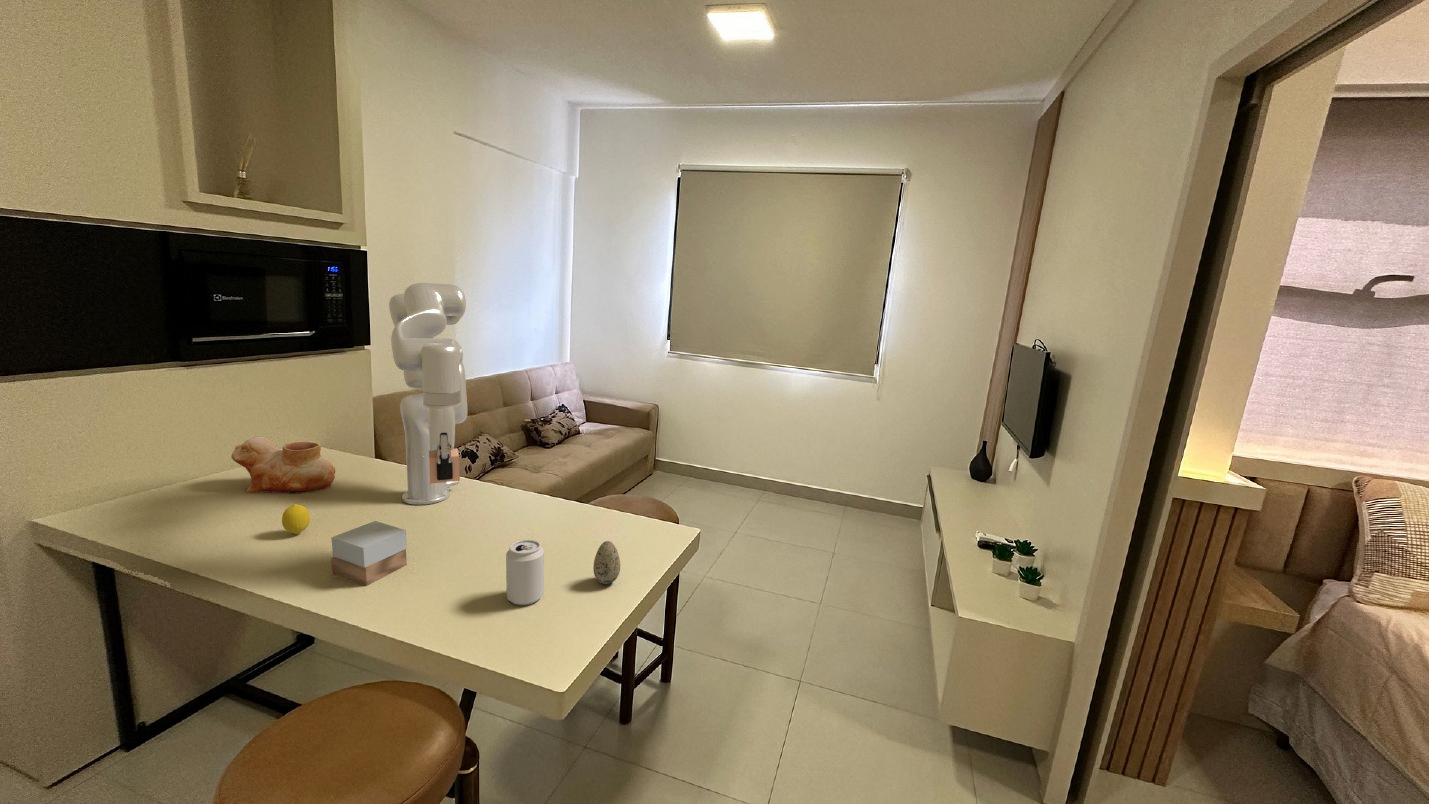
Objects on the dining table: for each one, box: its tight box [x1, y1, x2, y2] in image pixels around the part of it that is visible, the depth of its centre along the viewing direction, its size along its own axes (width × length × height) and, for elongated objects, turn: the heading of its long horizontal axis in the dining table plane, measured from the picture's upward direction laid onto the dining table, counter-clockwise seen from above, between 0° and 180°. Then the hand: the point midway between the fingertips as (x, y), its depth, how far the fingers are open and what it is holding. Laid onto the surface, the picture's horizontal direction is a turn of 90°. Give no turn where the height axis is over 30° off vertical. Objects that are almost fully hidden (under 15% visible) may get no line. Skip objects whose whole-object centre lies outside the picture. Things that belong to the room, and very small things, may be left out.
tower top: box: [331, 520, 408, 568], centre depth 121 cm, size 10×10×4 cm
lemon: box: [281, 503, 311, 536], centre depth 136 cm, size 6×6×8 cm
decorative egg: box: [592, 540, 621, 585], centre depth 123 cm, size 6×6×10 cm
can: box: [505, 538, 545, 606], centre depth 114 cm, size 8×8×12 cm
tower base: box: [330, 549, 408, 586], centre depth 122 cm, size 10×10×4 cm
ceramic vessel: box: [231, 436, 336, 494], centre depth 164 cm, size 14×26×15 cm, turn 97°
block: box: [429, 448, 461, 484], centre depth 126 cm, size 6×6×6 cm
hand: (444, 473), depth 126 cm, fingers closed on block, 6 cm apart
